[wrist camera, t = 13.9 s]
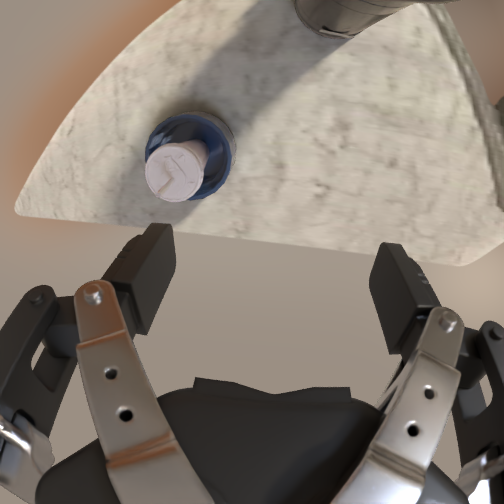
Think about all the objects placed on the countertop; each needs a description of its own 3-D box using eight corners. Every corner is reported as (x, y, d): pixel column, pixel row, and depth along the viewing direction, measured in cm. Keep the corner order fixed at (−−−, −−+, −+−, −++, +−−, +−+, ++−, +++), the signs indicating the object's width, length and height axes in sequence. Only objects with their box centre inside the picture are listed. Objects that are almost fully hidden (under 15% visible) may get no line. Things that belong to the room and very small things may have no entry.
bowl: (144, 137, 36) (130, 144, 32) (210, 95, 33) (202, 97, 29) (184, 200, 41) (174, 213, 37) (251, 166, 37) (247, 176, 34)
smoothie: (179, 178, 38) (137, 225, 27) (168, 134, 35) (117, 164, 23) (223, 171, 38) (197, 217, 26) (214, 125, 34) (180, 149, 22)
